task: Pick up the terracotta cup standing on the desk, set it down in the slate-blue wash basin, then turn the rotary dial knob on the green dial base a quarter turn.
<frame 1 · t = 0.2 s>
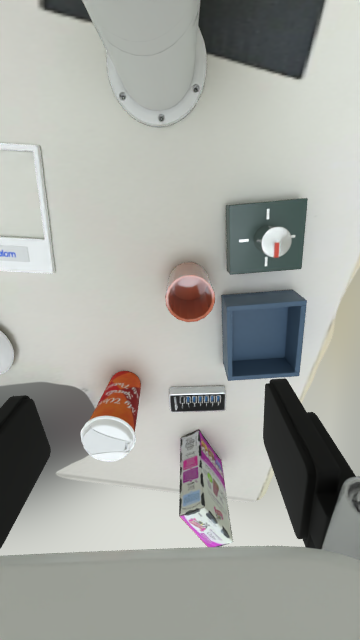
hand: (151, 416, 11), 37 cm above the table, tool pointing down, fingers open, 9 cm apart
green dial base: (261, 236, 43), on the table
candy bar box: (201, 449, 61), on the table
photo frame: (1, 211, 42), on the table
cup: (188, 282, 46), on the table
coffee cup: (125, 382, 55), on the table
multiport hub: (197, 394, 56), on the table
basin: (255, 328, 49), on the table
rotary dial knob: (271, 240, 38), point 5 cm above the table, hinge at 0.0°
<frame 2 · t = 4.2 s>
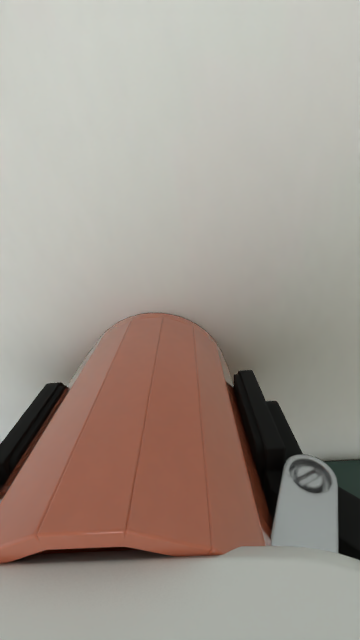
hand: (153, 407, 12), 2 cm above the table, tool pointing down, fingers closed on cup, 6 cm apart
green dial base: (277, 523, 18), on the table
cup: (157, 376, 14), on the table, touching gripper
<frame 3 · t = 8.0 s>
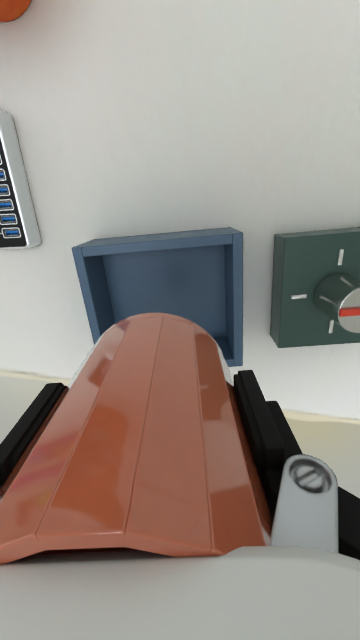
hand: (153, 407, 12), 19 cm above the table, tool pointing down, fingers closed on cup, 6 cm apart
green dial base: (320, 284, 29), on the table
cup: (157, 376, 14), point 17 cm above the table, touching gripper
multiport hub: (6, 185, 26), on the table
basin: (167, 292, 29), on the table
rotary dial knob: (349, 301, 24), point 5 cm above the table, hinge at 0.0°
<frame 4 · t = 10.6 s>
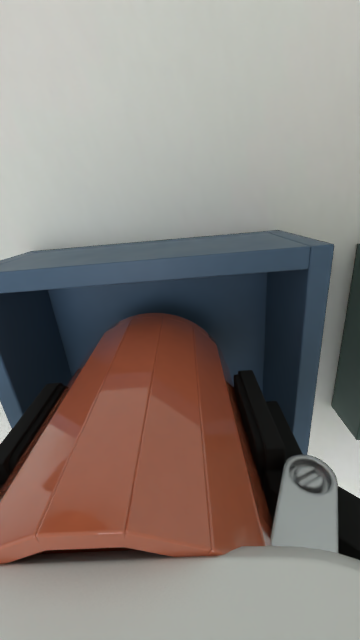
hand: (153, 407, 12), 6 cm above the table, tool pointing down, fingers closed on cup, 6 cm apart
cup: (157, 376, 14), point 4 cm above the table, touching gripper
basin: (164, 340, 17), on the table
when the fingers open (3 cm above the table, at t = 12.5 s): cup stays where it is, resting on basin.
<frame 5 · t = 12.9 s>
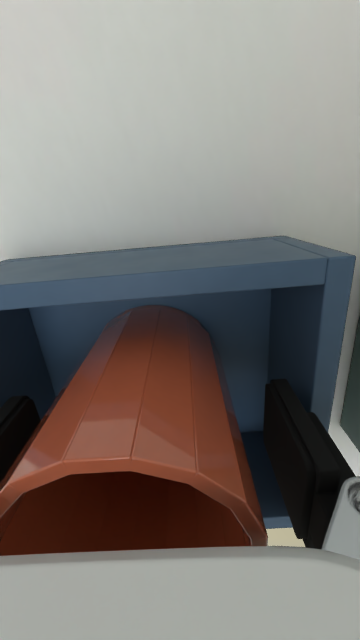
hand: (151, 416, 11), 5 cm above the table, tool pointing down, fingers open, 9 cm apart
cup: (155, 363, 15), point 1 cm above the table, touching basin
basin: (157, 356, 16), on the table
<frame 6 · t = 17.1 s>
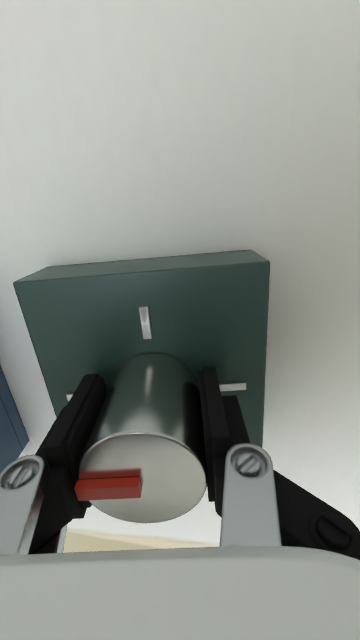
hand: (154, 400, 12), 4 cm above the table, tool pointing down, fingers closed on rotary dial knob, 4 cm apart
green dial base: (160, 356, 15), on the table
rotary dial knob: (149, 430, 10), point 5 cm above the table, hinge at -0.1°, touching gripper
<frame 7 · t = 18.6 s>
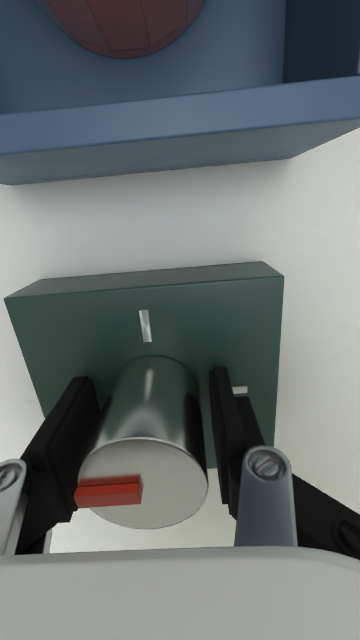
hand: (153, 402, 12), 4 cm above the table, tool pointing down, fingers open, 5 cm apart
green dial base: (160, 359, 15), on the table
rotary dial knob: (149, 434, 10), point 5 cm above the table, hinge at 91.9°
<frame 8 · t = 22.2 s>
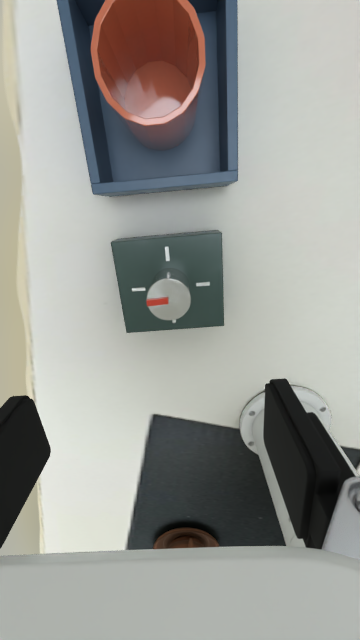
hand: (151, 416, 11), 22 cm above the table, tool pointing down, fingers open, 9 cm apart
green dial base: (171, 279, 32), on the table
cup: (159, 107, 25), point 1 cm above the table, touching basin
cup and saucer: (186, 539, 51), on the table
basin: (160, 110, 25), on the table
rotary dial knob: (169, 293, 27), point 5 cm above the table, hinge at 91.9°
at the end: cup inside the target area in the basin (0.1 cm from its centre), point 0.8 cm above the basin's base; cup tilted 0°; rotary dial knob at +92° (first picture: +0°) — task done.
